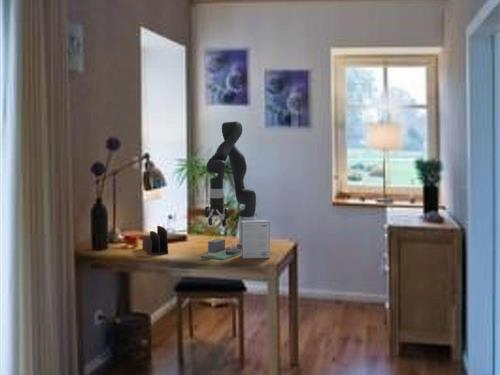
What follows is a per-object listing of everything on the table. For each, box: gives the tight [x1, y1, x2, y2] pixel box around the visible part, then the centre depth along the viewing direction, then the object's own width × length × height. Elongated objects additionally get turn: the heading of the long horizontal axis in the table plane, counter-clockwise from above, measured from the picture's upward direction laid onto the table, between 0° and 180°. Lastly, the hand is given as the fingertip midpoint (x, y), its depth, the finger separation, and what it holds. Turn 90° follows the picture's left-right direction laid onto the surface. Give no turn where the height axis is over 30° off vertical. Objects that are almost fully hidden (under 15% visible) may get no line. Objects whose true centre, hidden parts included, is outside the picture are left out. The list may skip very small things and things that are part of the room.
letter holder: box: [142, 225, 169, 256], centre depth 377 cm, size 10×20×14 cm, turn 23°
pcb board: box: [201, 243, 242, 261], centre depth 367 cm, size 18×14×6 cm
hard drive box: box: [241, 219, 271, 259], centre depth 362 cm, size 16×8×20 cm, turn 92°
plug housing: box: [207, 238, 226, 254], centre depth 366 cm, size 10×5×6 cm, turn 150°
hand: (217, 225), depth 364 cm, fingers open, 8 cm apart
